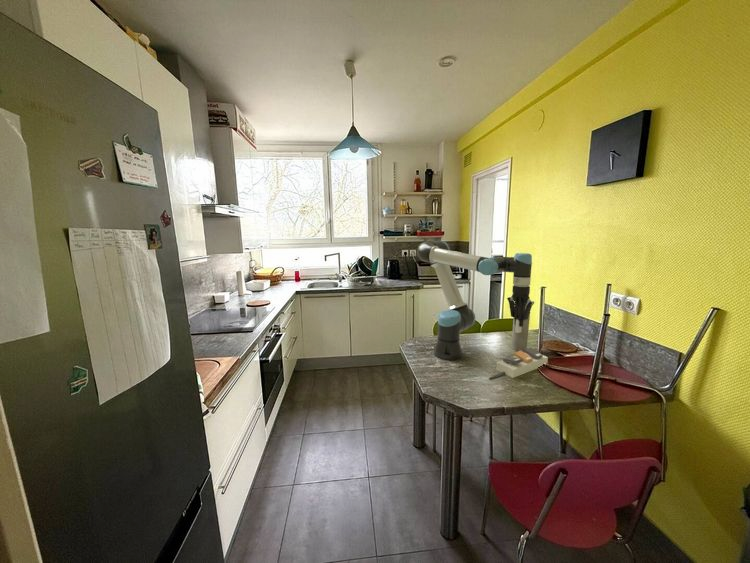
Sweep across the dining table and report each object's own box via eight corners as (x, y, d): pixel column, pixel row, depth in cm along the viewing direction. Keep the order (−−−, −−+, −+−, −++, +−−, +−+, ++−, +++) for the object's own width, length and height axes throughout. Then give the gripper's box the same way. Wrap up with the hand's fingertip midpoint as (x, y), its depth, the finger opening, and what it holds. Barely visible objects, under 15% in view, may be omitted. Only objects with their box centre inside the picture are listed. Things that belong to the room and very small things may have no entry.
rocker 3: (523, 351, 150) (524, 349, 149) (529, 349, 152) (530, 347, 152) (536, 359, 144) (537, 356, 144) (542, 357, 147) (543, 354, 146)
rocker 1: (503, 361, 142) (502, 358, 142) (509, 359, 145) (509, 356, 145) (516, 364, 136) (515, 361, 136) (522, 361, 138) (522, 358, 138)
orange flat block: (513, 354, 146) (514, 352, 145) (519, 352, 148) (520, 350, 148) (526, 363, 140) (527, 360, 140) (532, 360, 143) (533, 358, 142)
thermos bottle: (511, 345, 172) (515, 298, 167) (526, 347, 169) (530, 300, 164) (511, 350, 165) (515, 302, 160) (526, 352, 162) (531, 303, 157)
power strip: (481, 375, 137) (481, 365, 136) (530, 357, 156) (531, 349, 155) (497, 383, 130) (498, 373, 129) (547, 364, 148) (548, 355, 147)
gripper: (504, 284, 145) (501, 329, 149) (529, 288, 134) (525, 337, 138) (514, 282, 149) (511, 327, 153) (539, 286, 138) (535, 334, 142)
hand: (518, 332), depth 146 cm, fingers closed
